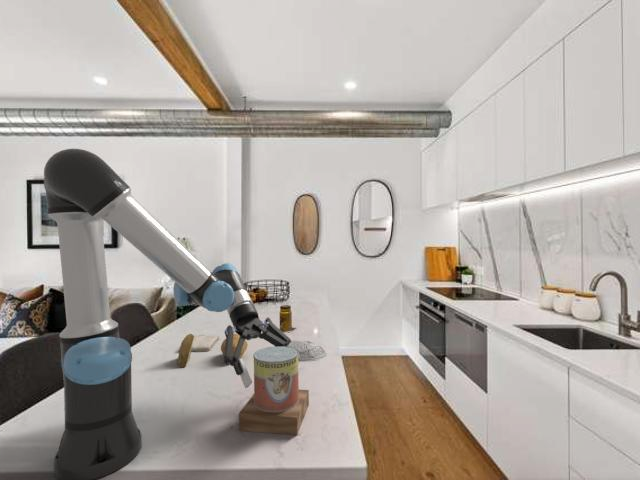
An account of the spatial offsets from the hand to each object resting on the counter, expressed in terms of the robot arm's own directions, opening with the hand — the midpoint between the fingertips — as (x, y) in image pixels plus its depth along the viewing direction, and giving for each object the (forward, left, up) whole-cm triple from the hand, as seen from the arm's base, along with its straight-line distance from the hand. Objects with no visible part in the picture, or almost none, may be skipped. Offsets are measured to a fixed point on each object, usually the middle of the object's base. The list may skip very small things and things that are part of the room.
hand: (271, 377), depth 86 cm
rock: (+31, +44, -10) cm, 54 cm away
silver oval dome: (+44, +3, -10) cm, 45 cm away
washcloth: (+51, +47, -10) cm, 70 cm away
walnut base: (-1, -1, -9) cm, 9 cm away
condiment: (+79, +17, -10) cm, 81 cm away
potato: (+38, +27, -10) cm, 47 cm away
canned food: (-1, -2, -6) cm, 6 cm away
